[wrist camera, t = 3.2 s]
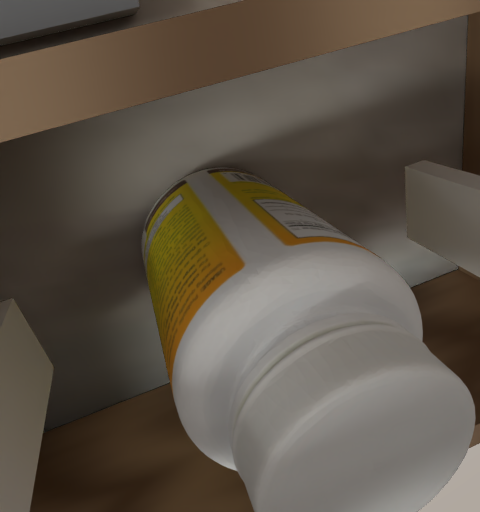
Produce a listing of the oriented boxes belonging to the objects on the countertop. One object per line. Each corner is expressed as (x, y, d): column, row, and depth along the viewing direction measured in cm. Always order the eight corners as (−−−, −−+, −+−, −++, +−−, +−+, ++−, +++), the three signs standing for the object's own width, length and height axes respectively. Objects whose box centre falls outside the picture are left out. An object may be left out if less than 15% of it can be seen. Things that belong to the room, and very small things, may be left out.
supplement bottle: (164, 320, 16) (241, 633, 7) (118, 188, 13) (146, 417, 5) (293, 276, 17) (501, 502, 8) (273, 145, 14) (545, 266, 6)
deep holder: (-22, 479, 16) (-95, 720, 10) (-303, 154, 10) (-919, 281, 4) (474, 279, 20) (633, 369, 14) (494, -45, 14) (794, -133, 8)
